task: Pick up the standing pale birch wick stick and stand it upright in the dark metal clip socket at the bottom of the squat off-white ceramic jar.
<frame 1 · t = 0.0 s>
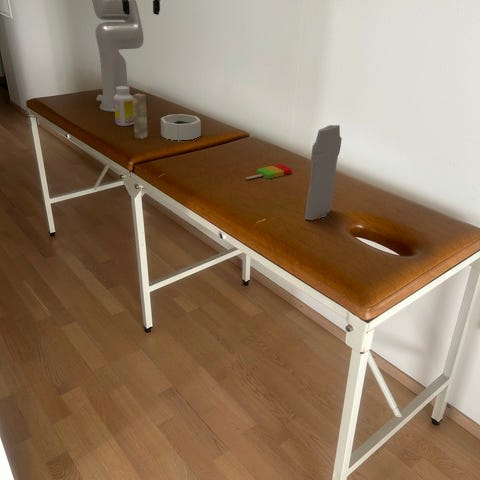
hand: (141, 14, 162), 37 cm above the table, tool pointing down, fingers open, 9 cm apart
wick: (141, 137, 173), on the table
popsicle: (266, 177, 147), on the table
clip: (180, 127, 175), in the jar, point 3 cm above the table
gray upright slab: (317, 215, 125), on the table
jar: (180, 135, 176), on the table
supplement bottle: (125, 124, 186), on the table
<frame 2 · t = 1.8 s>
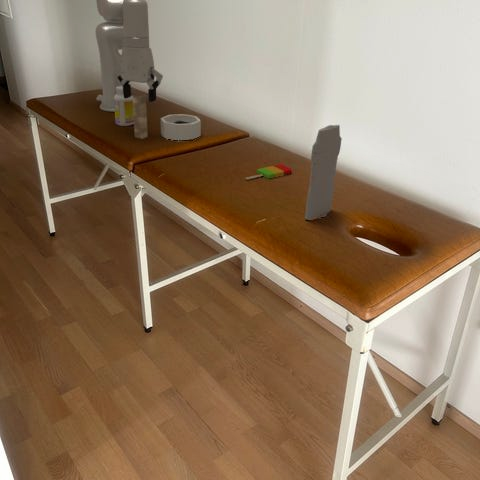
hand: (139, 99, 166), 13 cm above the table, tool pointing down, fingers open, 9 cm apart
nothing on the table moved.
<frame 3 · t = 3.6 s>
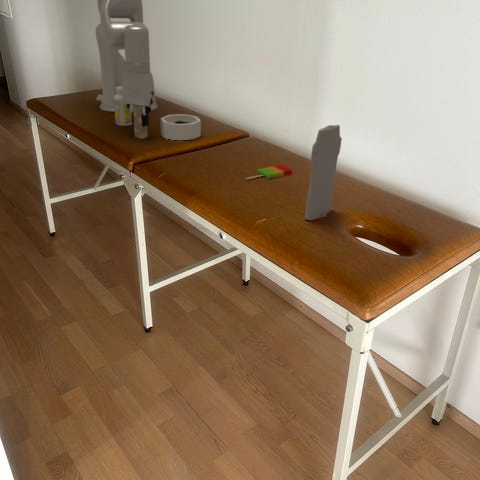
hand: (140, 124, 171), 4 cm above the table, tool pointing down, fingers closed on wick, 3 cm apart
wick: (141, 137, 173), on the table, touching gripper
everything else where it was.
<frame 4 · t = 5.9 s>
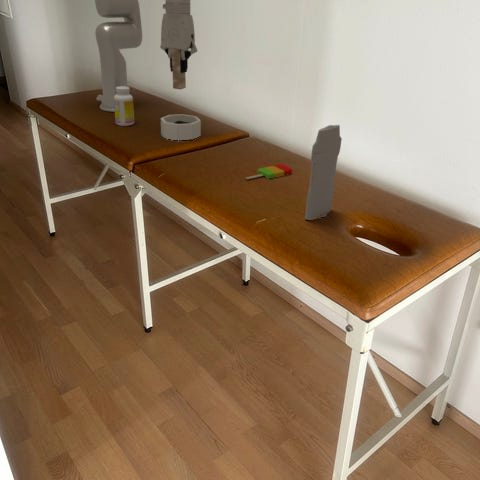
hand: (178, 71, 166), 21 cm above the table, tool pointing down, fingers closed on wick, 3 cm apart
wick: (179, 88, 169), point 16 cm above the table, touching gripper
everything else where it was.
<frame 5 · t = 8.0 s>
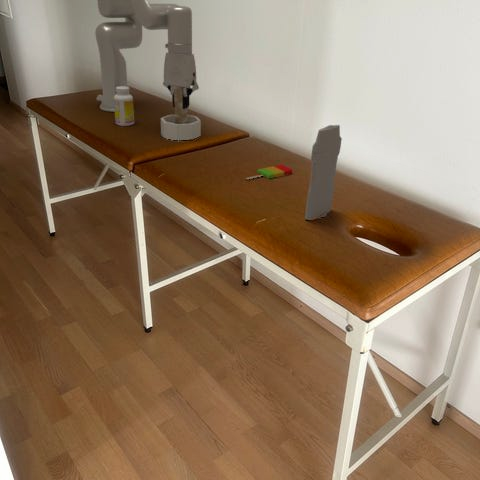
hand: (180, 106, 171), 10 cm above the table, tool pointing down, fingers closed on wick, 3 cm apart
wick: (181, 122, 174), point 4 cm above the table, touching gripper
everything else where it was.
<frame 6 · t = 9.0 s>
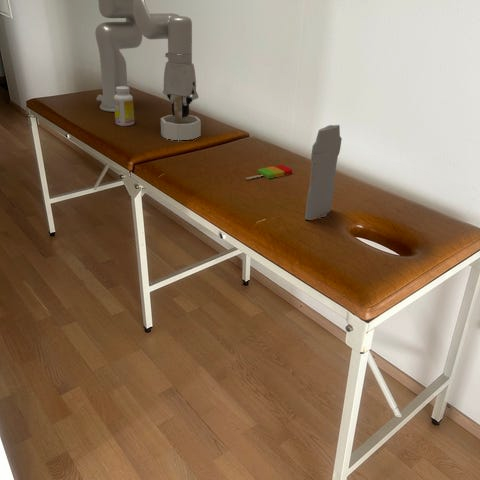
hand: (180, 115, 173), 7 cm above the table, tool pointing down, fingers closed on wick, 3 cm apart
wick: (181, 130, 176), point 2 cm above the table, touching gripper
everything else where it was.
when the fingers open (7 cm above the table, at t = 9.3 s): wick stays where it is, resting on clip.
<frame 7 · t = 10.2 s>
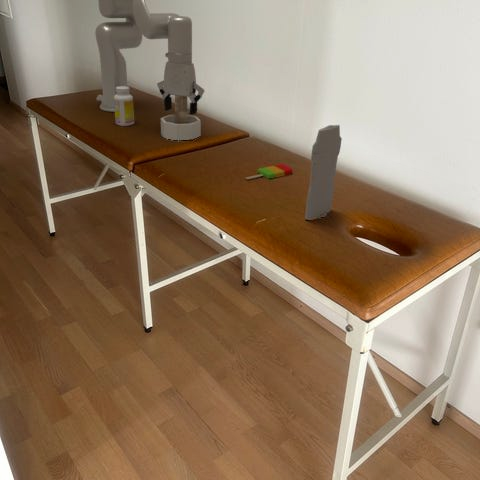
hand: (180, 111, 172), 8 cm above the table, tool pointing down, fingers open, 9 cm apart
wick: (181, 131, 176), point 1 cm above the table, touching clip
everything else where it was.
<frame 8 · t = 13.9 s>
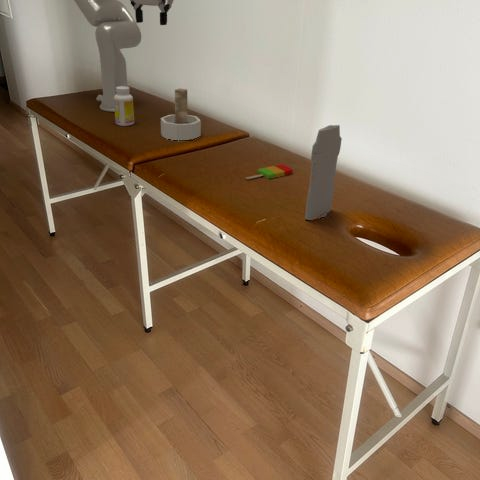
hand: (151, 23, 176), 33 cm above the table, tool pointing down, fingers open, 9 cm apart
nothing on the table moved.
at the end: wick 0.5 cm off-centre on the jar, point 1.3 cm above the jar's base; wick tilted 0°; the gripper is holding nothing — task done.
